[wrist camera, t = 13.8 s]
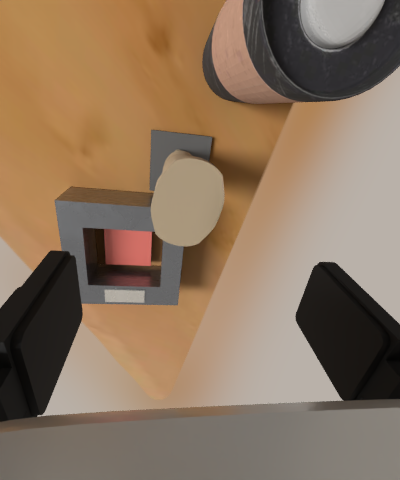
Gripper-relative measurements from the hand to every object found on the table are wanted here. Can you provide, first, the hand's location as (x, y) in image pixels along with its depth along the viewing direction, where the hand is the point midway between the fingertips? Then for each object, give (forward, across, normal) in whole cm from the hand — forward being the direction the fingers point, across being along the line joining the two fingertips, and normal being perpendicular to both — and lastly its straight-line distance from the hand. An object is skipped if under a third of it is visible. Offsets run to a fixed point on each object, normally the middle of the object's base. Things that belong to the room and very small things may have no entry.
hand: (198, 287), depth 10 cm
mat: (+24, 0, 0) cm, 24 cm away
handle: (+24, 0, 0) cm, 24 cm away
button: (+24, +6, +11) cm, 27 cm away
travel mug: (+24, -5, -11) cm, 27 cm away
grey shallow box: (+24, +6, +11) cm, 27 cm away
